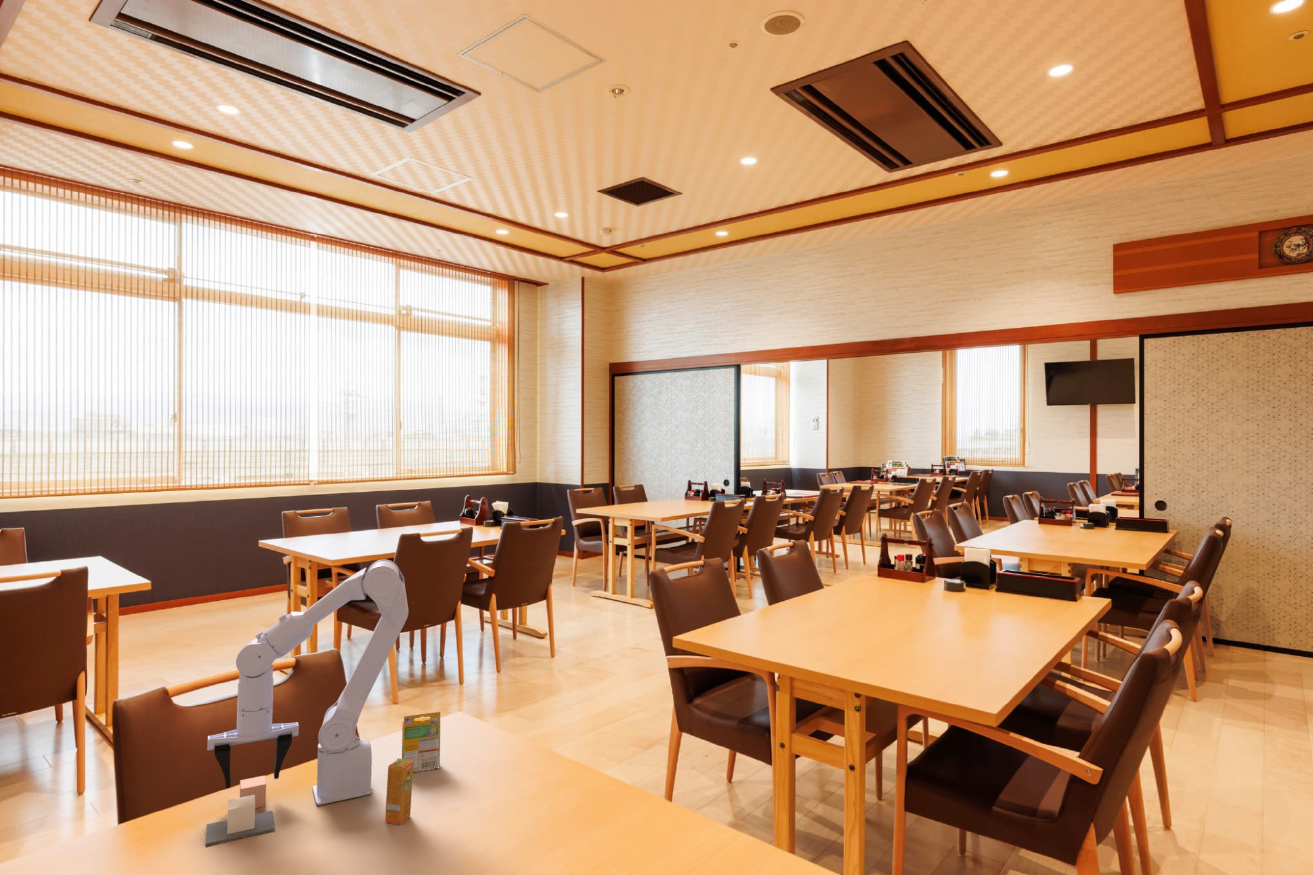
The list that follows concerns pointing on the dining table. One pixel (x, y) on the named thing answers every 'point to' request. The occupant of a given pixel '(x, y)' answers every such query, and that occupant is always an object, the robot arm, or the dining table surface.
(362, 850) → the dining table surface
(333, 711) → the robot arm
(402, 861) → the dining table surface
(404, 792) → the supplement box
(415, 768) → the crayon box
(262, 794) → the terracotta block
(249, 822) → the cream block
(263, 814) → the build mat
